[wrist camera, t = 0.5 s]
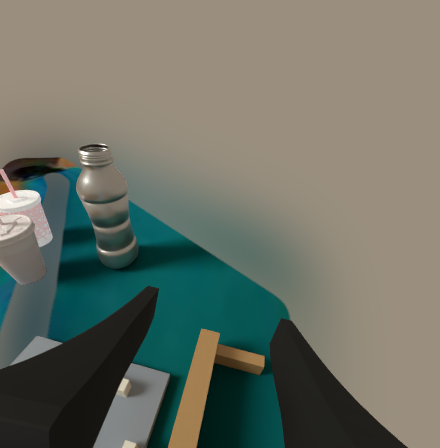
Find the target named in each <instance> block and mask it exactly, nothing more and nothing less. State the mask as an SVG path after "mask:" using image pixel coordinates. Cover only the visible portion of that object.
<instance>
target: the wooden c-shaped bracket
mask: <svg viewBox="0 0 440 448" xmlns="http://www.w3.org/2000/svg"><path fill="white" fill-rule="evenodd" d="M219 335H220V333H217V332H213V331H209V330H205V329H201V332H200V336H199V339H198V343H197V346H196V350H195V353H194V357H193V360H192V364H191V368H190V371H189V375H188V378H187V382H186V385H185V389H184V392H183V396H182V399H181V403H180V407H179V410H178V414H177V417H176V421H175V424H174V428H173V431H172V435H171V438H170V442H169V446H168V448H196V447H197V442H198V437H199V432H200V427H201V423H202V418H203V413H204V408H205V403H206V398H207V393H208V388H209V384H210V379H211V374H212V369H213V364H214V363H217V364H221V365H224V366H228V367H232V368H235V369H239V370H242V371H246V372H250V373H253V374H257V375H260V374H261V372H262V370H263V369H264V356H262V355H258V354H254V353H250V352H246V351H243V350H239V349H235V348H231V347H228V346H224V345H220V344H218V340H219Z"/></svg>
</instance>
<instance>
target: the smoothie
mask: <svg viewBox="0 0 440 448" xmlns="http://www.w3.org/2000/svg"><path fill="white" fill-rule="evenodd" d="M34 229H35V224H34V223H33V221H32V219H31V218H30V217H28V216H26V215H20V214H12V215H4V216H0V266H1V267H2V268H3V269H4V270H5V271H6V272H8V273H9V274H10V275H11V276H12V277H13V278H14V279H15V280H16V281H17V282H18V283H20V284H23V285H25V284H31V283H34V282H37V281H38V280H40V279H41V278H43V277H44V276H45V274H46V267H45V264H44V261H43V258H42V255H41V251H40V248H39V245H38V242H37V239H36V235H35V232H34Z"/></svg>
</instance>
